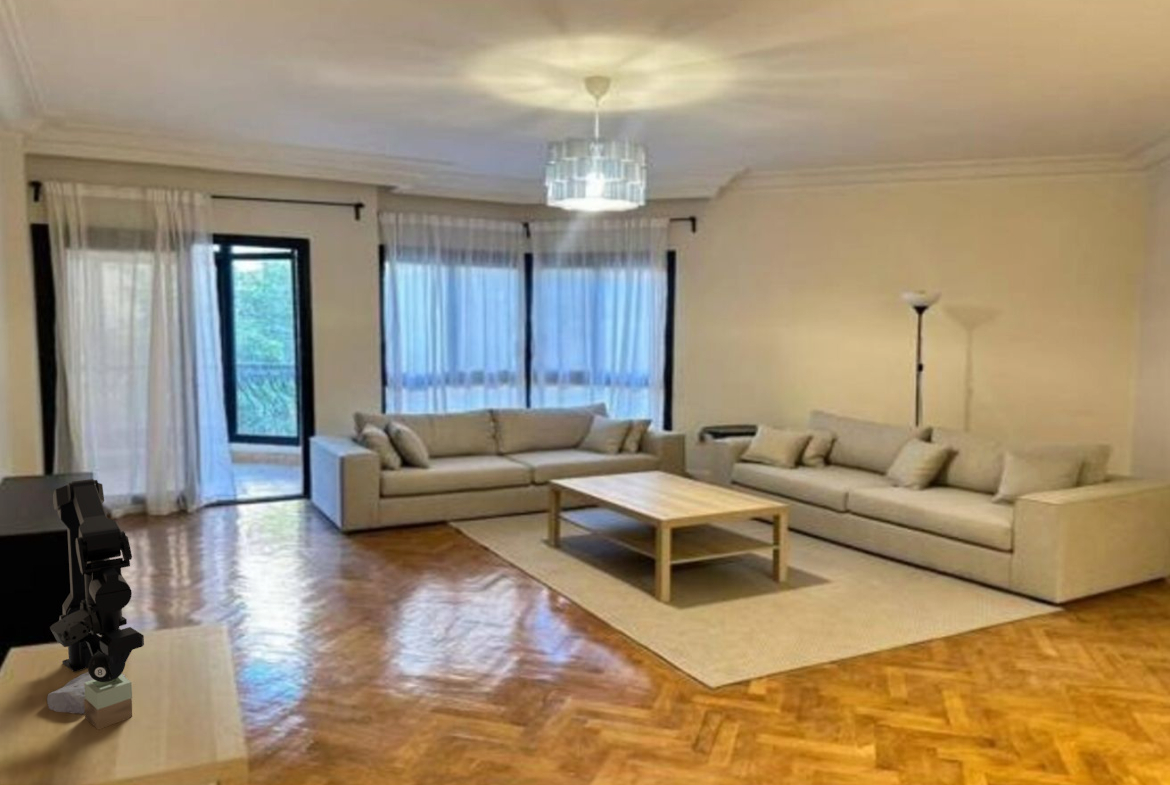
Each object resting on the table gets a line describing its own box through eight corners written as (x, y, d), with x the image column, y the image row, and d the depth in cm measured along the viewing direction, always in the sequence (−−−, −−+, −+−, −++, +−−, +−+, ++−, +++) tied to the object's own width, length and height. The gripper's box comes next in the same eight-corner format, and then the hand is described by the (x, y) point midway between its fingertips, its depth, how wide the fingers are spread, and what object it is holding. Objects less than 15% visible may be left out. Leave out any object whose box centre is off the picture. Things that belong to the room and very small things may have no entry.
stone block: (42, 719, 159) (86, 716, 157) (37, 695, 159) (81, 691, 157) (90, 691, 171) (132, 688, 169) (86, 669, 170) (127, 665, 168)
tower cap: (85, 698, 156) (84, 682, 156) (119, 687, 161) (118, 671, 160) (97, 709, 152) (96, 693, 152) (132, 697, 157) (131, 682, 156)
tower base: (85, 718, 156) (84, 699, 156) (118, 706, 161) (117, 687, 161) (98, 730, 153) (97, 710, 152) (132, 717, 157) (131, 697, 157)
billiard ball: (131, 671, 159) (129, 642, 158) (117, 687, 153) (116, 656, 152) (97, 672, 158) (96, 643, 157) (83, 688, 152) (81, 657, 152)
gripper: (35, 592, 153) (39, 672, 155) (76, 621, 141) (80, 706, 144) (99, 577, 162) (103, 652, 164) (143, 602, 150) (147, 683, 152)
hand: (107, 673), depth 156 cm, fingers closed on billiard ball, 6 cm apart
